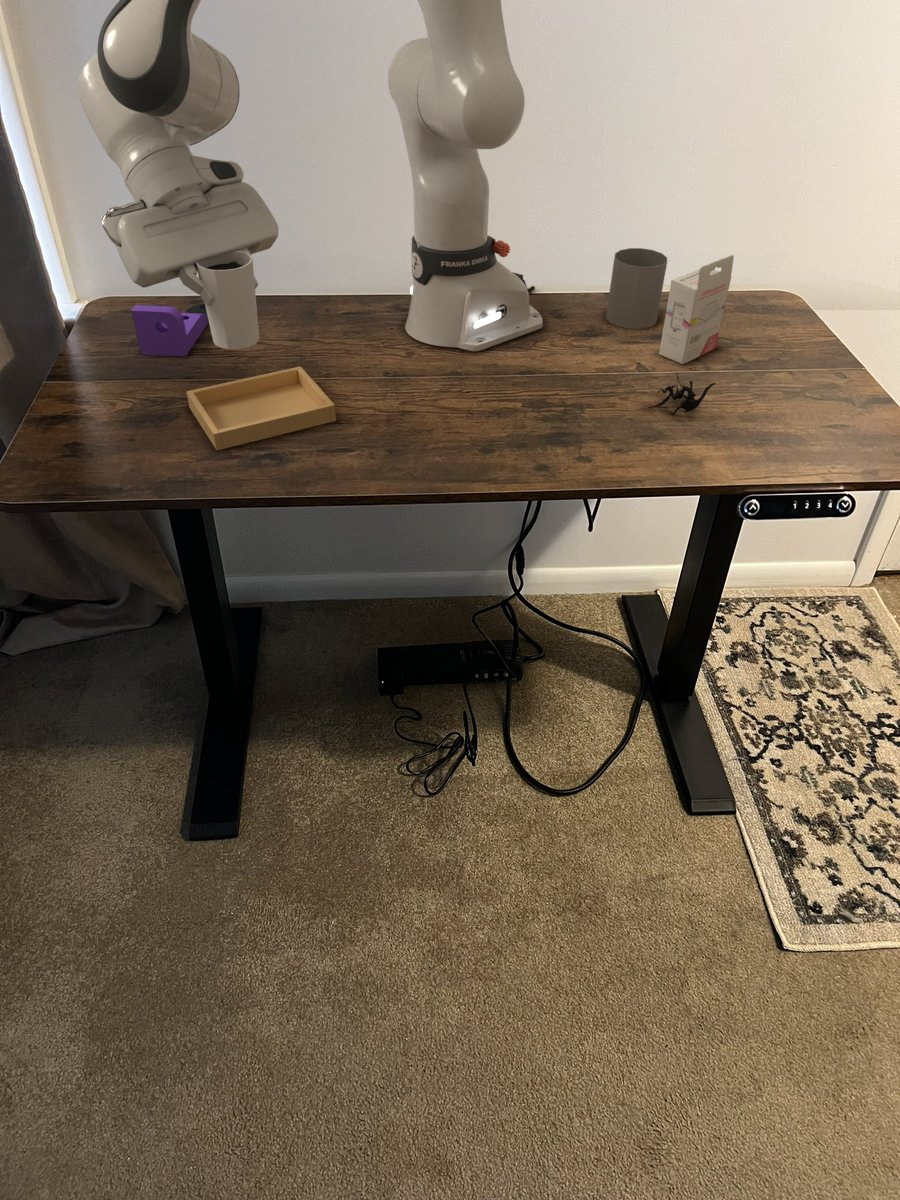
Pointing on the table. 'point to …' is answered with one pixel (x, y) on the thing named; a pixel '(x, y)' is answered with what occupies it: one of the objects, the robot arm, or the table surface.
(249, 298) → the white tumbler
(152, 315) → the bracket
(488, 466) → the table surface
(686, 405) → the creature
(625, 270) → the cup
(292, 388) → the tray
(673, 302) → the ink cartridge box
